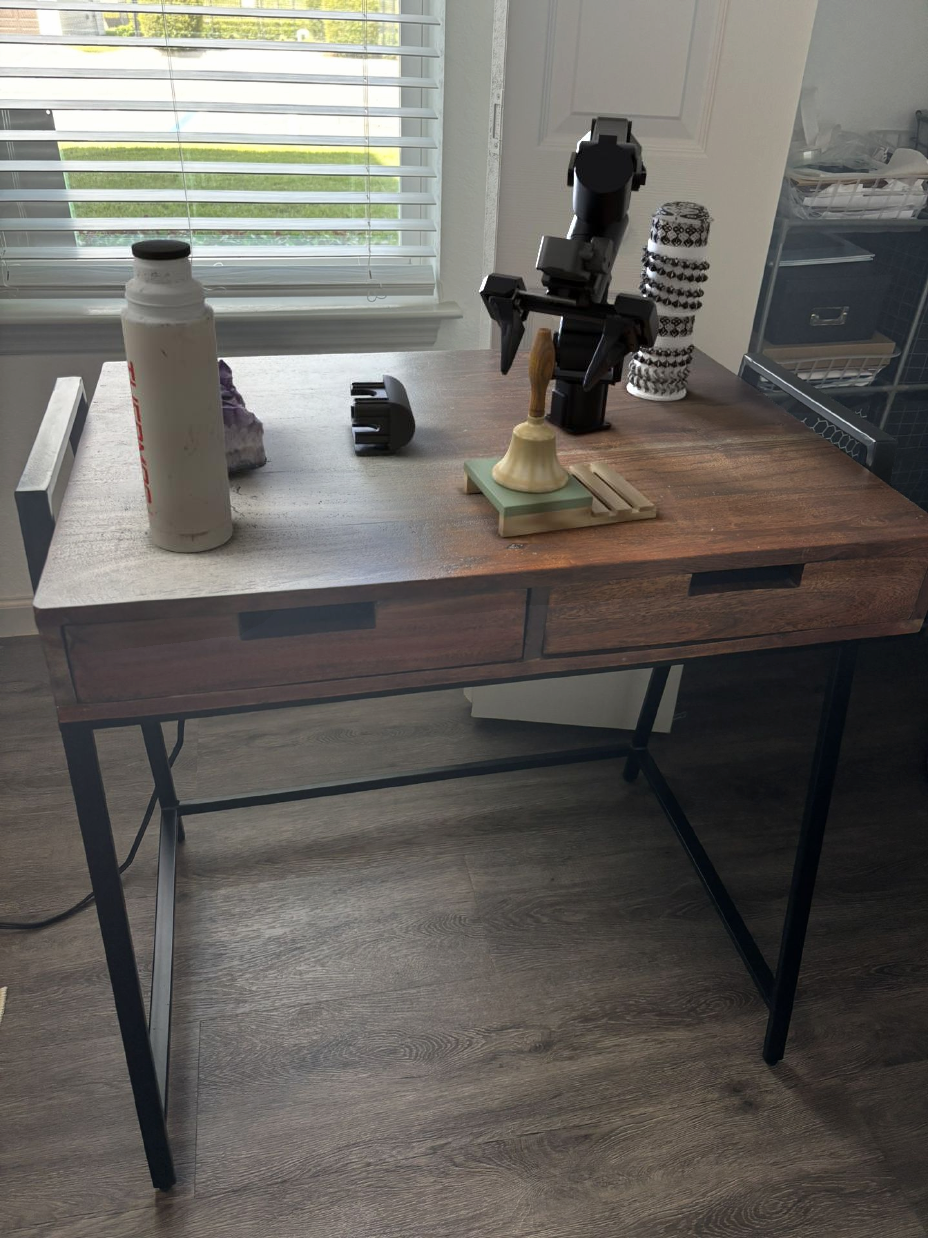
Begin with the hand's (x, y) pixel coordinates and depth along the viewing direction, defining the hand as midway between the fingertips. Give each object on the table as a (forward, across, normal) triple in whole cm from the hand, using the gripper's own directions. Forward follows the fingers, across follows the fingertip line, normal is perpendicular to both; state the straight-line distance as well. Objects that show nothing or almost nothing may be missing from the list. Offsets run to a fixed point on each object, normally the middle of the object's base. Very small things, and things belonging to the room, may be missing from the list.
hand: (543, 381), depth 104 cm
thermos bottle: (+28, -27, -8) cm, 39 cm away
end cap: (+6, -22, +14) cm, 27 cm away
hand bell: (+9, 0, +5) cm, 10 cm away
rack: (+9, +4, +10) cm, 14 cm away
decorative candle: (-20, +2, +40) cm, 44 cm away
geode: (+15, -38, +4) cm, 41 cm away
